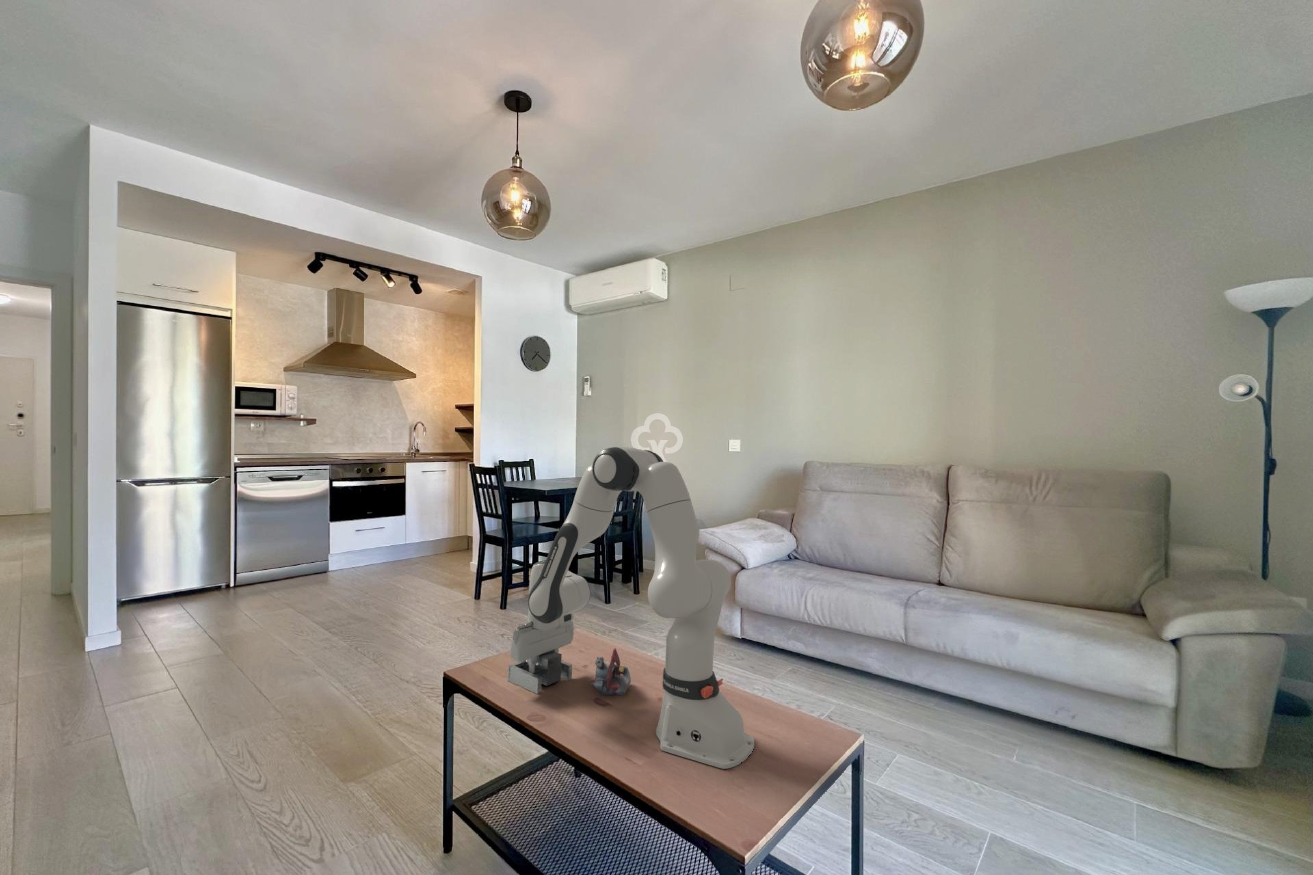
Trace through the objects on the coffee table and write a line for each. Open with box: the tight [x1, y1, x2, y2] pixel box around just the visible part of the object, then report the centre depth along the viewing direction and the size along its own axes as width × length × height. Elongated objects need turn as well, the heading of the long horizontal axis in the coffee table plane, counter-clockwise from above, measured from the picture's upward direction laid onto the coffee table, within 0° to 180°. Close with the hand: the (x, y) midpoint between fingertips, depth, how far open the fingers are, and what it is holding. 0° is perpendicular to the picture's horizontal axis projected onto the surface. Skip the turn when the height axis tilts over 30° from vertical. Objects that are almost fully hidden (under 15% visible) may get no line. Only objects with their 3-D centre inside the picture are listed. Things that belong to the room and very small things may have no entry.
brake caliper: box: [590, 647, 632, 696], centre depth 143 cm, size 11×11×12 cm
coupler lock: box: [523, 651, 563, 687], centre depth 146 cm, size 10×5×8 cm, turn 53°
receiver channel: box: [506, 659, 573, 695], centre depth 147 cm, size 13×12×7 cm
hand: (542, 667), depth 146 cm, fingers closed on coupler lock, 5 cm apart
